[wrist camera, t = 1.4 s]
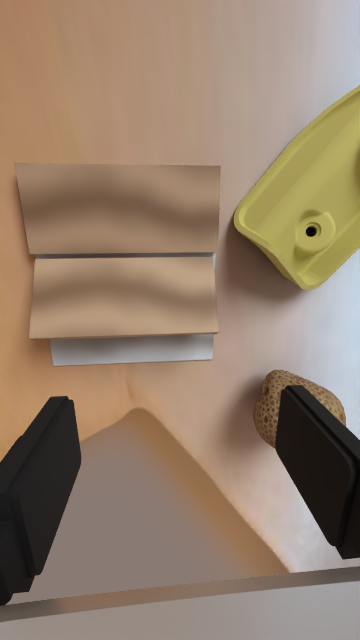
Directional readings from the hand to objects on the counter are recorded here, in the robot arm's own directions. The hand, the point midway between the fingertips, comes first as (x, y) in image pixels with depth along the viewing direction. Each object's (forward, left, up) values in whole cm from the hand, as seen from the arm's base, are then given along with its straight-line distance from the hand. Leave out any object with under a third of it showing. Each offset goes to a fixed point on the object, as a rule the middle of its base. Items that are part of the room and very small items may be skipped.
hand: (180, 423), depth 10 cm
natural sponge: (-12, -14, -20) cm, 27 cm away
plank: (+2, +4, -18) cm, 18 cm away
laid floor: (+4, +4, -20) cm, 21 cm away
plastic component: (+12, -18, -20) cm, 30 cm away
